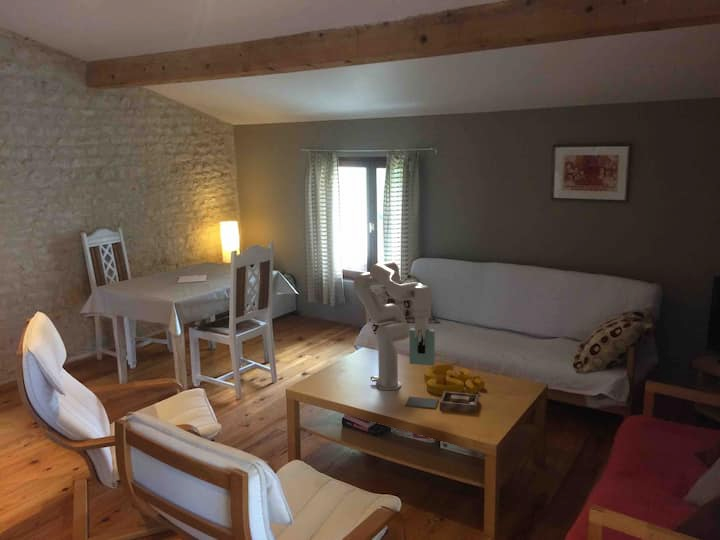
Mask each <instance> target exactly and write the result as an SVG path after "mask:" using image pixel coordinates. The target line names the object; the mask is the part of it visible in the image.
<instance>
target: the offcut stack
mask: <svg viewBox="0 0 720 540" xmlns="http://www.w3.org/2000/svg"><path fill="white" fill-rule="evenodd" d="M449 402H453V403H463V404H474V402H469V397H468V396H456V395H452V396H451V400H450V401H449Z"/></svg>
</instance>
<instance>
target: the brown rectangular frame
mask: <svg viewBox="0 0 720 540" xmlns="http://www.w3.org/2000/svg"><path fill="white" fill-rule="evenodd" d="M452 395H456V396H468V397H469V401H471V402H474V404H463V403H453V402H450V401H447V399H449V400H451V396H452ZM478 404H479V394H477V393H473V394H471V393H469V392H467V393H466V392H463V393H457V392H446V391H444V393H443V395H441V399H439V410H440V409H441V410H442V411H450V410H451V412H461V413H462V412H463V413H472V414H476V412H477V410H478V409H477V408H478ZM476 409H477V410H476Z"/></svg>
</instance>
